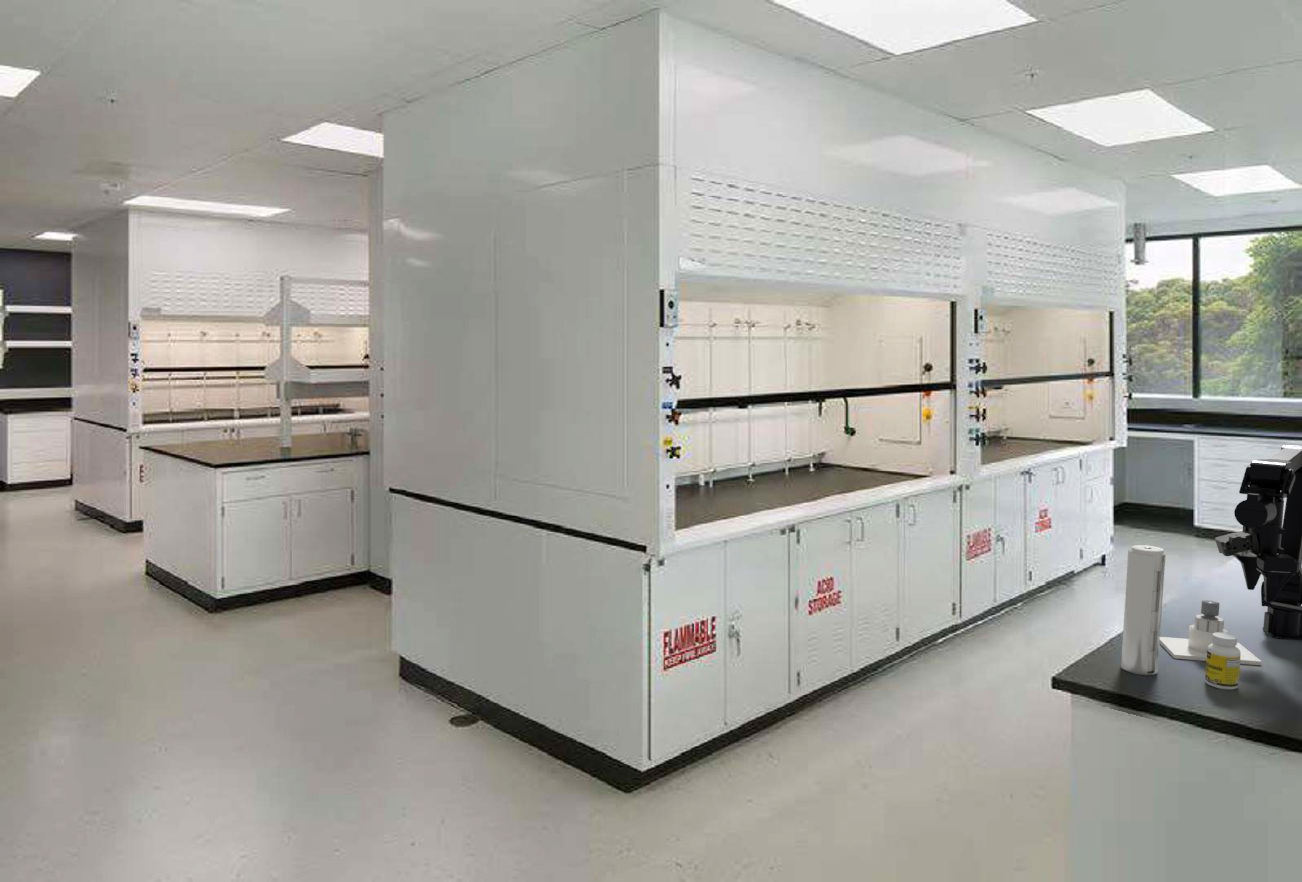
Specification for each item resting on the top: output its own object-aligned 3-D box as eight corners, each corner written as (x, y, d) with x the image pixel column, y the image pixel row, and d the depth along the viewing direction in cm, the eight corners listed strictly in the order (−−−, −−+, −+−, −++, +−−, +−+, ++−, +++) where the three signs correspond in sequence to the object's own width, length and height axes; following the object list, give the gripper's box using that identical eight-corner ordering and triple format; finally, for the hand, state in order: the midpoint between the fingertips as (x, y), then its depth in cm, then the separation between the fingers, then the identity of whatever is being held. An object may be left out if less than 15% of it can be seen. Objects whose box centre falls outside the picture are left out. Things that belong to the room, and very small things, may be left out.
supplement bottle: (1198, 680, 173) (1201, 631, 172) (1224, 679, 174) (1228, 630, 173) (1218, 690, 168) (1221, 640, 167) (1245, 690, 169) (1249, 639, 167)
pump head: (1214, 627, 190) (1216, 600, 189) (1219, 632, 187) (1221, 605, 186) (1197, 626, 191) (1199, 599, 190) (1202, 630, 188) (1204, 603, 187)
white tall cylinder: (1154, 666, 181) (1162, 545, 178) (1160, 677, 175) (1169, 552, 172) (1118, 662, 183) (1125, 542, 180) (1123, 673, 177) (1131, 549, 174)
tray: (1238, 646, 193) (1238, 642, 193) (1261, 665, 182) (1261, 661, 182) (1156, 640, 197) (1156, 636, 197) (1174, 658, 185) (1174, 654, 185)
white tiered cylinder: (1219, 644, 192) (1221, 614, 191) (1232, 655, 185) (1234, 624, 184) (1183, 641, 193) (1185, 611, 193) (1194, 652, 187) (1196, 621, 186)
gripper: (1205, 511, 195) (1200, 581, 197) (1239, 528, 177) (1233, 605, 179) (1263, 514, 192) (1257, 584, 194) (1303, 531, 174) (1297, 609, 176)
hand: (1259, 595), depth 186 cm, fingers open, 9 cm apart
